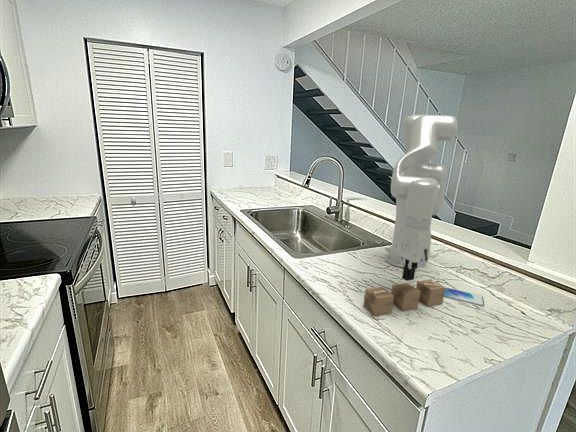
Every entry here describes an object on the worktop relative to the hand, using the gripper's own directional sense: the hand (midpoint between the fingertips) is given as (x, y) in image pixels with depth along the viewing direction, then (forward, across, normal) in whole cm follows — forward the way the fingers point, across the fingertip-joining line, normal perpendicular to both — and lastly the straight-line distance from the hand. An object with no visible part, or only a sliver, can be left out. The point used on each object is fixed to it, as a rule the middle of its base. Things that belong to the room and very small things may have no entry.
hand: (407, 279), depth 98 cm
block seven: (+9, 0, +10) cm, 14 cm away
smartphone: (+10, 0, +23) cm, 25 cm away
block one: (+9, 0, -10) cm, 14 cm away
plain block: (+9, 0, 0) cm, 9 cm away
